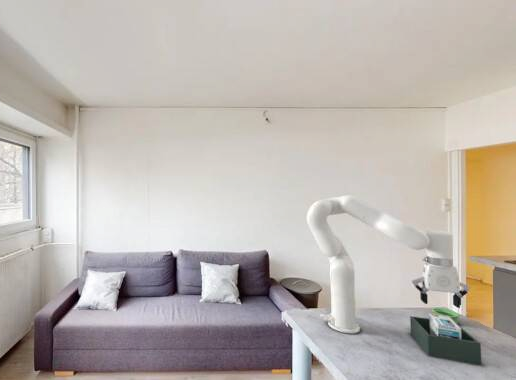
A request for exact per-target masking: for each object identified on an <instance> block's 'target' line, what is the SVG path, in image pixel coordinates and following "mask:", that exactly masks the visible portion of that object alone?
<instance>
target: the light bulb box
mask: <svg viewBox="0 0 516 380" xmlns="http://www.w3.org/2000/svg"><path fill="white" fill-rule="evenodd" d="M428 317H429V318H428V319H429V320H430V335H435V336H441V337H448V338H455V339H461V328H462V327H461V326H460V325H459V324H458V323H457V324H458V325H459V326H460V327H461V328H460V327H459V326H458V325H457V324H456V323H455V322H454V321H453V320H452V319H451V317H448V316H442V315H436V314H433V313H428ZM461 340H462V339H461Z"/></svg>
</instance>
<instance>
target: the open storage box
mask: <svg viewBox="0 0 516 380" xmlns="http://www.w3.org/2000/svg"><path fill="white" fill-rule="evenodd" d="M409 321H410V324H409V325H410V335H411V336H412V338H413V339H414V340H415V342H416V343H418V345H419V346H420V347H421V348H422V350H423V351H424V352H425V353H426V354H427V356H428V357H433V358H438V359H443V360H444V359H445V360H450V361H455V362H461V363H467V364H473V365H479V366H482V343H481V342H479V340H477V339H476V338H475V337H474V336H472V335H471V334H470V333H469V332H467V330H465V329H464V328H463V327H462V326H460V325H459V324H458V323H457V325H458V326H459V327H460V328H461V339H462V340H461V339H455V338H448V337H441V336H435V335H430V320H429V318H427V317H419V316H412V315H411V316H409Z"/></svg>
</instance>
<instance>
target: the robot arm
mask: <svg viewBox="0 0 516 380" xmlns="http://www.w3.org/2000/svg"><path fill="white" fill-rule="evenodd" d="M340 214H341V215H342V214H347V215H349V216H350V217H353V218H354V219H357V220H358V221H360V222H362V223H364V224H366V225H367V226H369V227H371V228H373V229H374V230H376V231H378V232H380V233H382V234H384V235H386V236H388V237H390V238H391V239H393V240H395V241H396V242H399V243H401V244H402V245H405V246H406V247H408V248H410V249H412V250H416V251H421V250H426V251H425V253H426V254H425V257H421V260H422V261H423V262H424V263H423V269H422V274H421V275H422V276H421V277H418V278H415V279H412V280H411V283H412V284H413V286H414V288H415V289H417V291H419V292H420V295H419V296H420V298H419V299H420V300H421V302H422V303H424V305H427V304H429V303H428V302H429V301H428V293H427V292H429V291H433V292H439V293H440V292H441V293H449V294H453V295H452V305H453V306H454V307H456V308H457V309H461V306H462V298H464V296H466V295H467V294H468V292H469V291H470V289H471V287H470V286H469V285H467V284H466V283H463V282H461V281H460V276H459V273H458V269H457V266H455V265H454V241H453V239H454V238H453V233H452V232H450V231H448V230H440V229H430V230H429V229H421V228H415V227H414V226H411V225H409V224H407V223H405V222H403V221H401V220H400V219H398V218H396V217H394V216H393V215H391V214H390V213H389V212H387V211H385V210H383V209H381V208H379V207H377V206H376V205H373V204H372V203H369V202H368V201H366V200H363V199H362V198H359V197H357V196H356V195H353V194H345V195H341V196H336V197H329V198H322V199H319V200H316V201H315V202H314V203H313V204H312V205H311V206H310V207H309V209H308V211H307V213H306V223H307V226H308V229H309V230H310V233H311V234H312V236H313V238H314V240H315V243H316V244H317V247H318V248H319V250H320V252H321V254H323V255H324V256H326V259H327V260H328V262H329V264H330V265H329V281H330V308H331V309H330V310H331V312H329V314H324V313H320V316H319V317H320V319H323V321H325V322H327V324H328V326H329V327H330V328H331V329H333V330H334V331H336V332H337V331H338V332H340V333H343V334H357V333H359V332H360V331H361V326H360V325H359V324H358V323H356V320H357V319H356V293H355V292H356V291H355V290H356V289H355V288H356V287H355V267H354V262H353V260H352V258H351V257H350V254H349V253H348V251H347V249H346V247H345V246H344V244H343V242H342V240H341V239H340V238H339V237H338V236H337V235H335V233H334V232H333V230H332V228H331V226H330V225H329V222H328V217H329V216H334V215H340ZM420 283H422V284H421V285H422V286H420V285H419V284H420ZM461 288H462V289H461Z"/></svg>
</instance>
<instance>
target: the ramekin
mask: <svg viewBox="0 0 516 380" xmlns="http://www.w3.org/2000/svg"><path fill="white" fill-rule="evenodd" d="M431 311H432V314H436V315H442V316H448V317H451V319H452V320H453V321H454V322H455V323H456V324H458V321H459V317H460V315H459V314H458V313H457V312H456V311H453V310H450V309H447V308H441V307H434V308H431Z"/></svg>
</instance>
